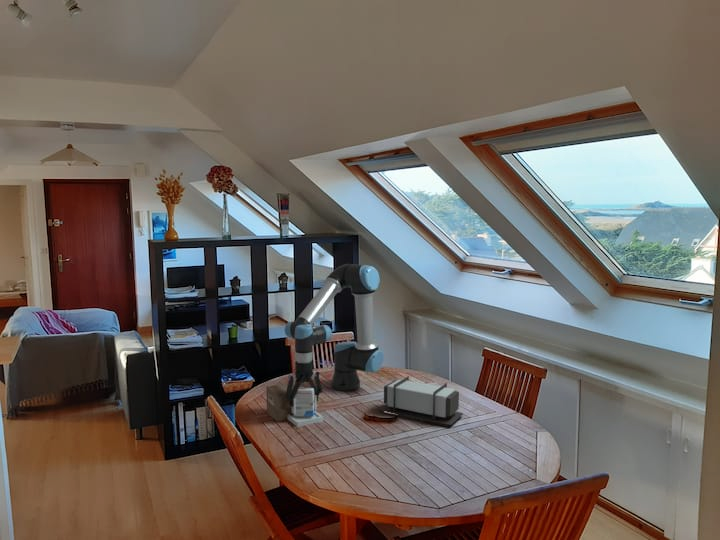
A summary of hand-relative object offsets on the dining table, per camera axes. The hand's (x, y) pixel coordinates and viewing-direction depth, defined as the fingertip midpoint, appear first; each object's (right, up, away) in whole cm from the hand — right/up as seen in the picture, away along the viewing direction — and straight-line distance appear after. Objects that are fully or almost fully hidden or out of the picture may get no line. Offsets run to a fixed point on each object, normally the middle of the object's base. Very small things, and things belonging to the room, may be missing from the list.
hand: (304, 411), depth 245 cm
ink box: (0, -2, 0) cm, 2 cm away
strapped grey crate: (+52, -4, +6) cm, 52 cm away
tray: (0, -4, 0) cm, 4 cm away
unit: (-11, -3, +5) cm, 13 cm away
